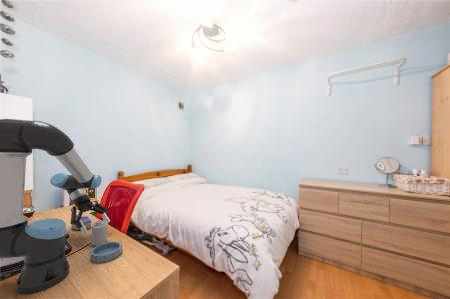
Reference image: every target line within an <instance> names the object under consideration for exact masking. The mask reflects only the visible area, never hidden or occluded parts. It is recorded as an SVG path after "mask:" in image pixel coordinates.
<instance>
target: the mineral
mask: <svg viewBox="0 0 450 299" xmlns="http://www.w3.org/2000/svg"><path fill="white" fill-rule="evenodd" d="M78 214H79V213H78ZM78 214H77V213H76V219H77V216H78ZM80 221H82V222H83V224H84V225H85V227H86V229H87V228H88V229H90V228H92V224H93V223H92V219H91V218H89V216H88V215H86V216H83V215H82V216H81V219H80ZM70 225H71V228H70V229H72V230H76V231H79V230H81V229H80V228H78V227H77V225H74V224H70Z"/></svg>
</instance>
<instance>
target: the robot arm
mask: <svg viewBox="0 0 450 299" xmlns="http://www.w3.org/2000/svg"><path fill="white" fill-rule="evenodd" d="M33 150H38V151H39V150H40V151H45V152H46V153H47V155H49V156H51V157H55V158H56V160H57V161H59V163H60V164H61V165H62V166H63V167H64V168H65V169H66V170H67V171H68V173H70V174H67V173H64V172H58V173H55V174H54V175H52V176H51V178H50V180H49V181H50V184H51V186H54V187H55V188H57V189H61V190H64V191H66V192H67V194H68V196H69V197H70V199H71V201H72V203H73V204H74V206H72V207H71V209H70V212H71V214H70V225H72V224H74V225H77V227H78V228H80V229H79V230H80V232H82V234H86V233H87V231H88V229H87V228H86V227H85V225H84V224H83V222H82V221H80V219H81V216H82V217H83V213H86V212H90V211H91V212H92V211H93V212H95V213H98V214H100V215H101V217H102V220H105V221H107V222H106V223H108V224H109V223H110V222H111V220H110V218H109V215H108V213H107V212H108V211H109V209H108V208H107V207H105V206H104V205H102V204H101V203H99V202H98V200H94V201H93V202H92V201H91V198H90V196H89V195H88V193H87V191H86V190H85V189H96V188H97V189H98V188H100V186H101V184H102V176H101V175H98V174H94V173H93V172H92V171H91V170H90V168H89V166H87V164H86V163H85V162H84V160H83V159H82V157H81V156H80V155H79V153H78V152H77V150H76V149H75V143H74V142H73V140H72V139H71V138H70V136H68V135H67V134H66V133H65V132H64V131H62V130H61V129H59V128H58V127H56V126H54V125H53V124H50V123H48V122H45V121H40V120H27V119H16V118H15V119H14V118H13V119H12V118H0V260H2V259H11V258H23V260H24V261H23V268H22V269H21V272H20V274H19V276H18V278H17V280H16V283H15V292H16V293H17V294H19V295H20V294H21V295H22V294H23V295H26V294H27V295H28V294H33V293H39V292H40V291H44V290H46V289H48V288H51V287H53V286H55V285H57V284H59V283H60V282H62V280H64V279H65V278H66V277H67V276H68V275H69V274H70V264H69V261H68V258H67V255H66V238H67V224H66V221H64V220H63V219H61V218H49V217H48V218H43V219H42V218H41V219H36V220H33V221H31V222H29V218H28V217H27V216H26V215H24V203H25V200H24V199H25V185H26V170H27V158H28V157H30V156H31V155H32V154H33ZM77 211H78V216H77V219H76V215H77Z"/></svg>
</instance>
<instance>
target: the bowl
mask: <svg viewBox="0 0 450 299" xmlns="http://www.w3.org/2000/svg"><path fill="white" fill-rule="evenodd" d="M122 250H123V243H122V242H120V241H114V240H113V241H106V242H105V243H103V244H100V245H98V246H94V247H93V248H92V249H90V252H89V253H90V255H89V257H90V261H91V262H92V264H93V263H94V264H103V263H108V262H111V261H114V260H115V259H117V258H118V257H119V256H121V254H122Z"/></svg>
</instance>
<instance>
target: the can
mask: <svg viewBox="0 0 450 299" xmlns="http://www.w3.org/2000/svg"><path fill="white" fill-rule="evenodd" d="M106 222H107V221H105V220H104V219H102V220H97V221H95V222H93V223H92V224H93V225H92V224H91V236H90V244H91V245H92V246H94V247H96V246H98V245H100V244H103V243H106V242H108V225H109V223H106Z"/></svg>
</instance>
